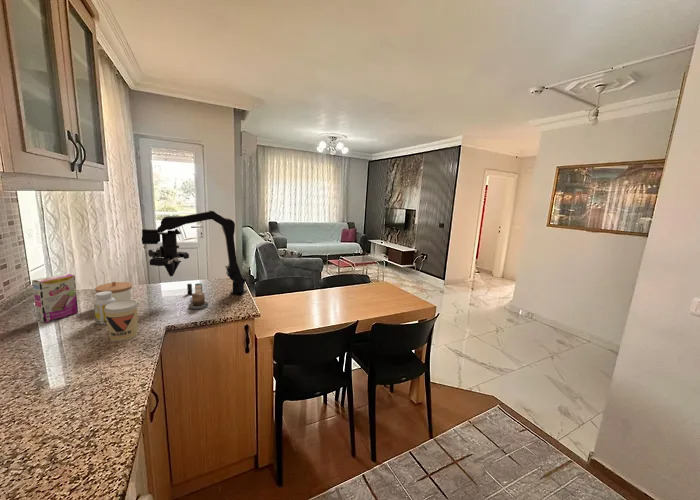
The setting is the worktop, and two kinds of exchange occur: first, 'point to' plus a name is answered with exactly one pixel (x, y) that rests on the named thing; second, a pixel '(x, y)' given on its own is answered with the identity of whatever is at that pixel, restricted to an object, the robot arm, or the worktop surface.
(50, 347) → the worktop surface
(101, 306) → the pill bottle
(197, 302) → the capstan lever
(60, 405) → the worktop surface
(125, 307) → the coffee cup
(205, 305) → the dark grey pieces
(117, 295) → the lidded bowl
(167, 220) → the robot arm
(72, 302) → the candy bar box
